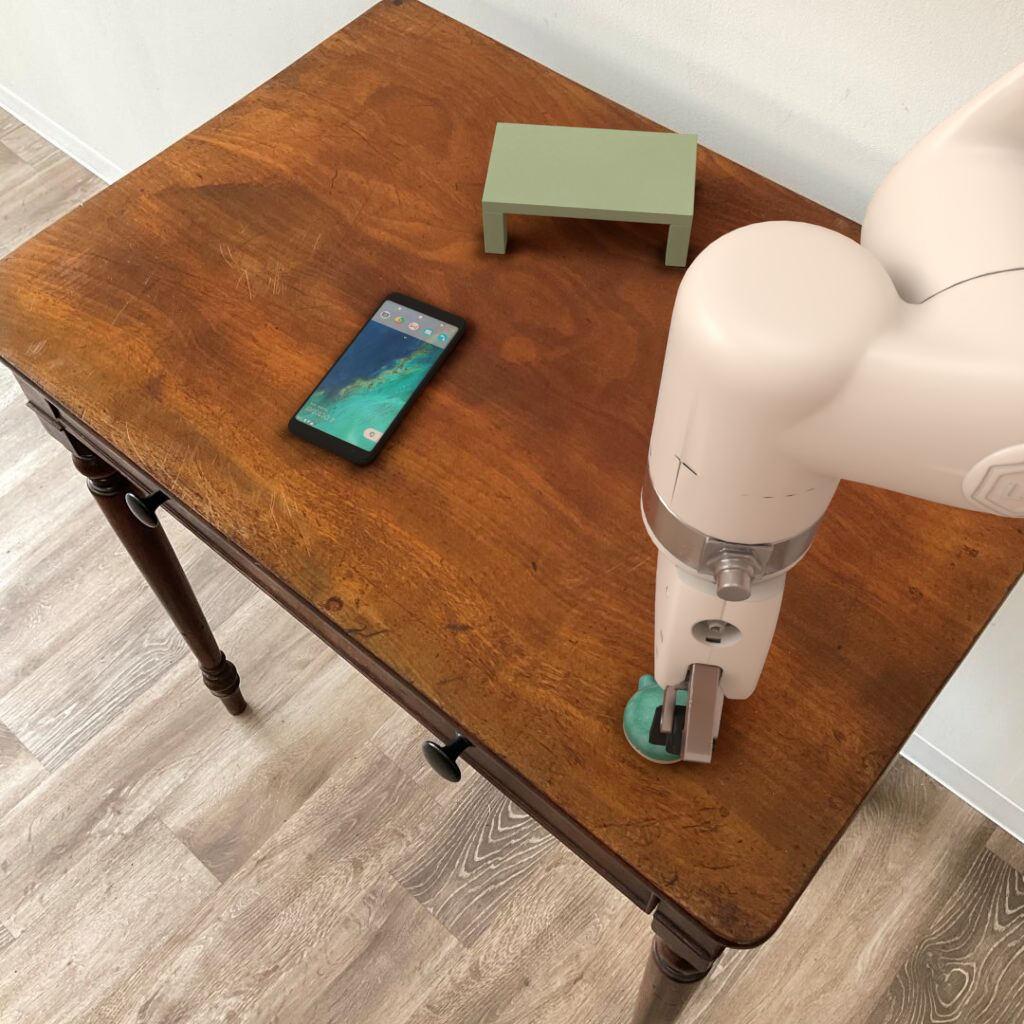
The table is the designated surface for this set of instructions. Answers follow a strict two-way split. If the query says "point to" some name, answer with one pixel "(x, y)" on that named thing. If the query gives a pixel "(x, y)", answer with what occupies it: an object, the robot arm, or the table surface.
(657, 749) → the whale figurine
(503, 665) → the table surface
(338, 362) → the smartphone
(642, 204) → the miniature table
